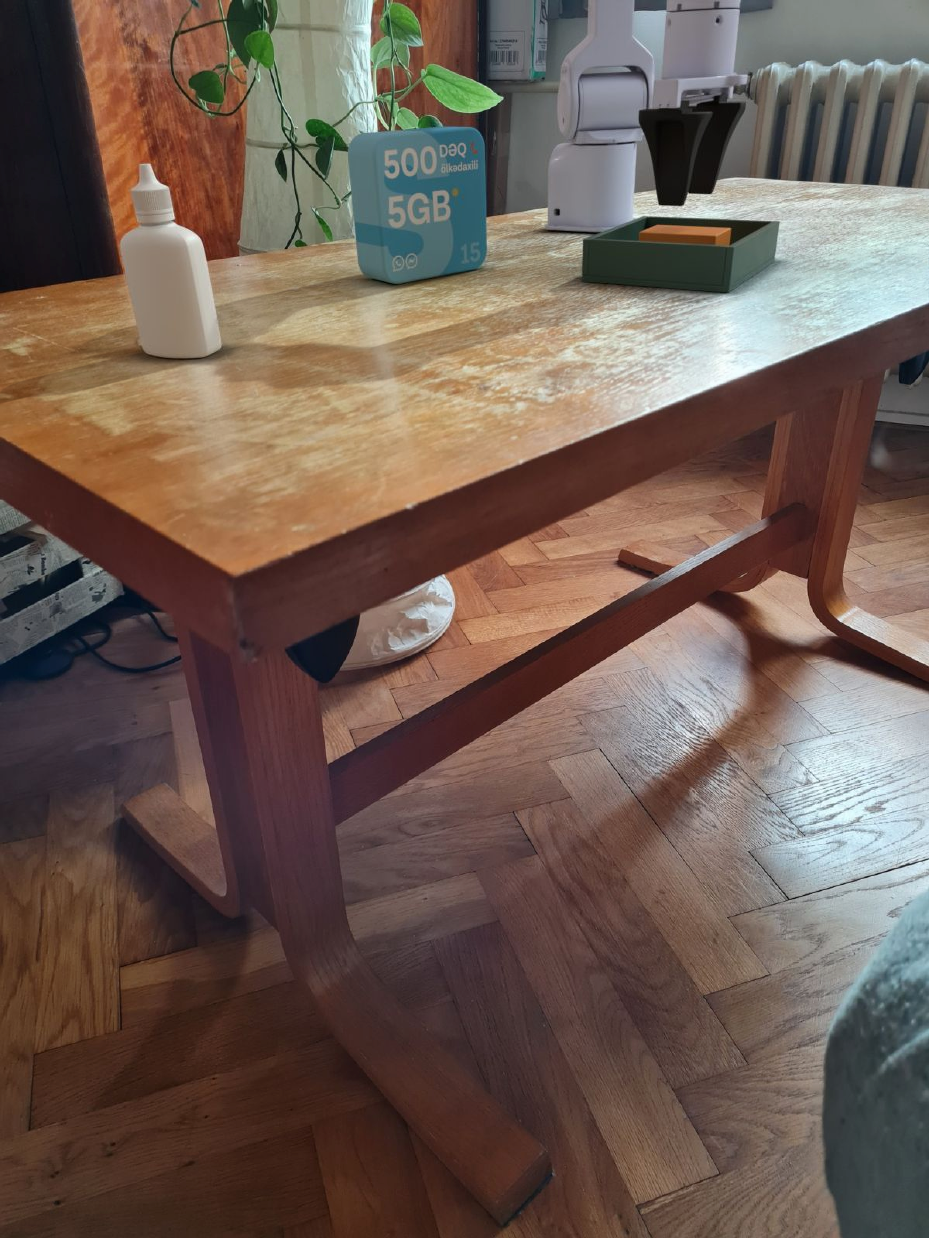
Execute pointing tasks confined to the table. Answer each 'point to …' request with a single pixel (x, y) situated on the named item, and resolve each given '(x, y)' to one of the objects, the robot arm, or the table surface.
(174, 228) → the eye dropper bottle
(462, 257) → the data package
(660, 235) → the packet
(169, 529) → the table surface
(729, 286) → the bin
